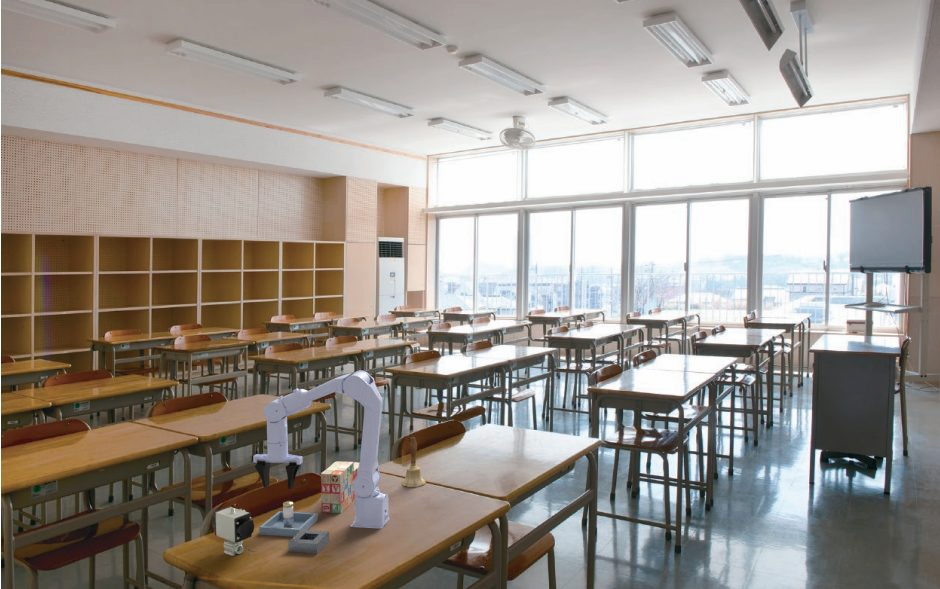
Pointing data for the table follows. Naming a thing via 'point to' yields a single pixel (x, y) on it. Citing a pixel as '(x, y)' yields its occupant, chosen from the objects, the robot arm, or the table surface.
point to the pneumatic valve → (233, 528)
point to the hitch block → (308, 541)
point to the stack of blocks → (338, 486)
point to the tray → (277, 528)
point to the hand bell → (413, 469)
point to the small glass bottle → (288, 514)
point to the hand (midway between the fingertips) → (278, 487)
